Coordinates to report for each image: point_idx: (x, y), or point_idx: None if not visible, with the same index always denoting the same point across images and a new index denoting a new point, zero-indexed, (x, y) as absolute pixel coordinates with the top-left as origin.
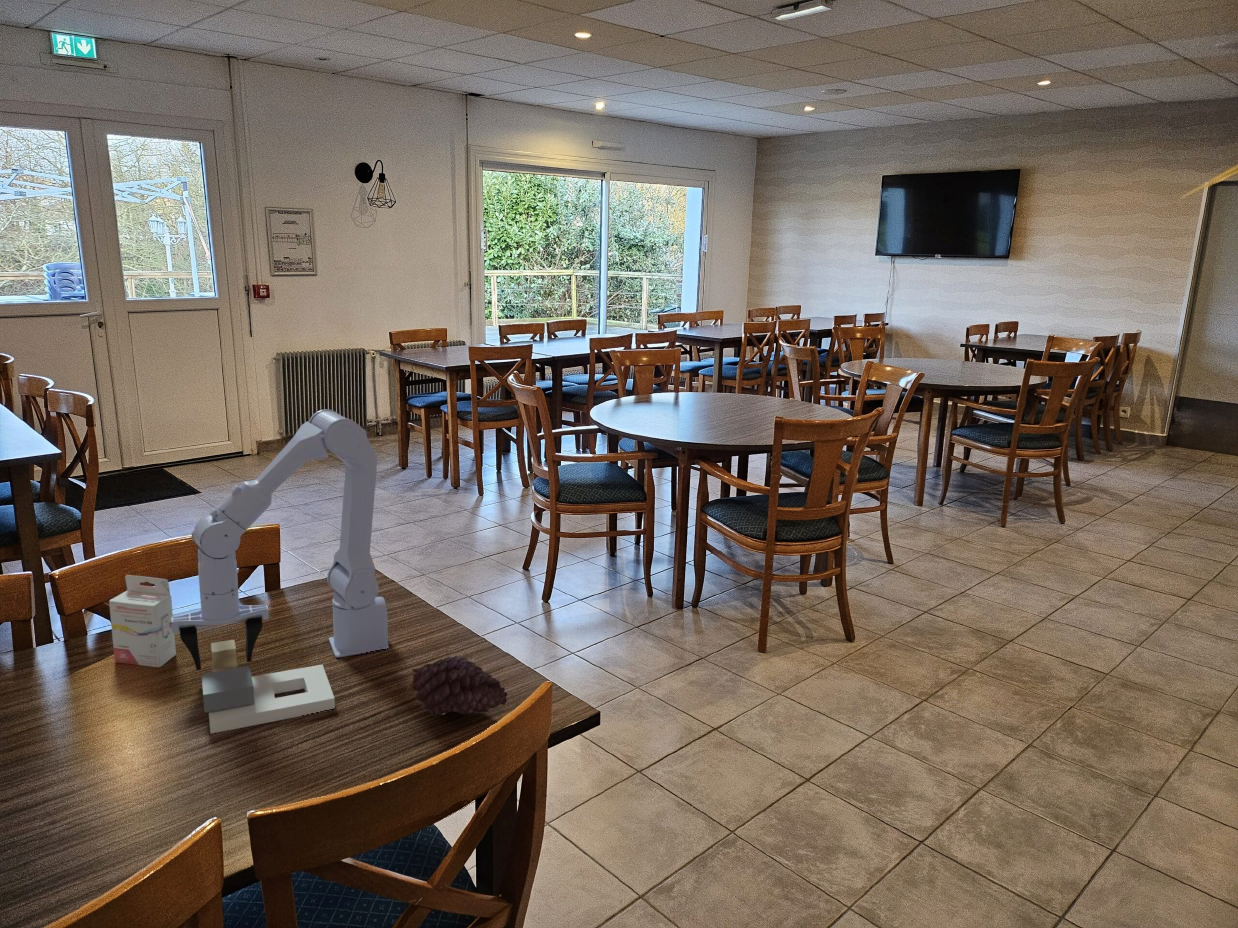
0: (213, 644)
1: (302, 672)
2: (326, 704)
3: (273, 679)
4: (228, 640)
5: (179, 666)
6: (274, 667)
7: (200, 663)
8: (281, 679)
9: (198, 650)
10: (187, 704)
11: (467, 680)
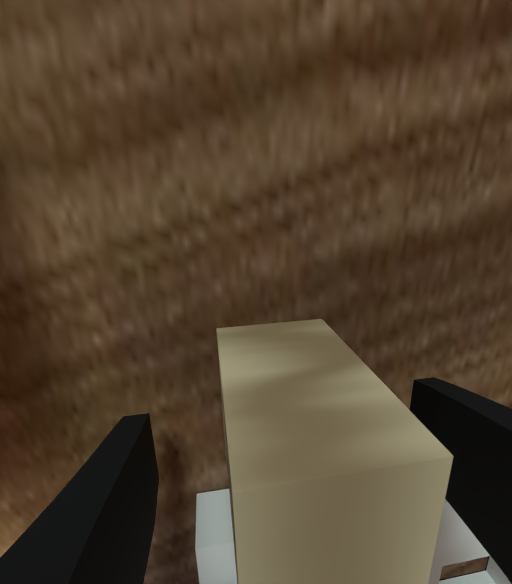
0: (258, 524)
1: None
2: None
3: (456, 542)
4: (401, 463)
5: (3, 155)
6: (471, 330)
7: (152, 531)
8: (480, 546)
9: (115, 571)
10: None
11: None
